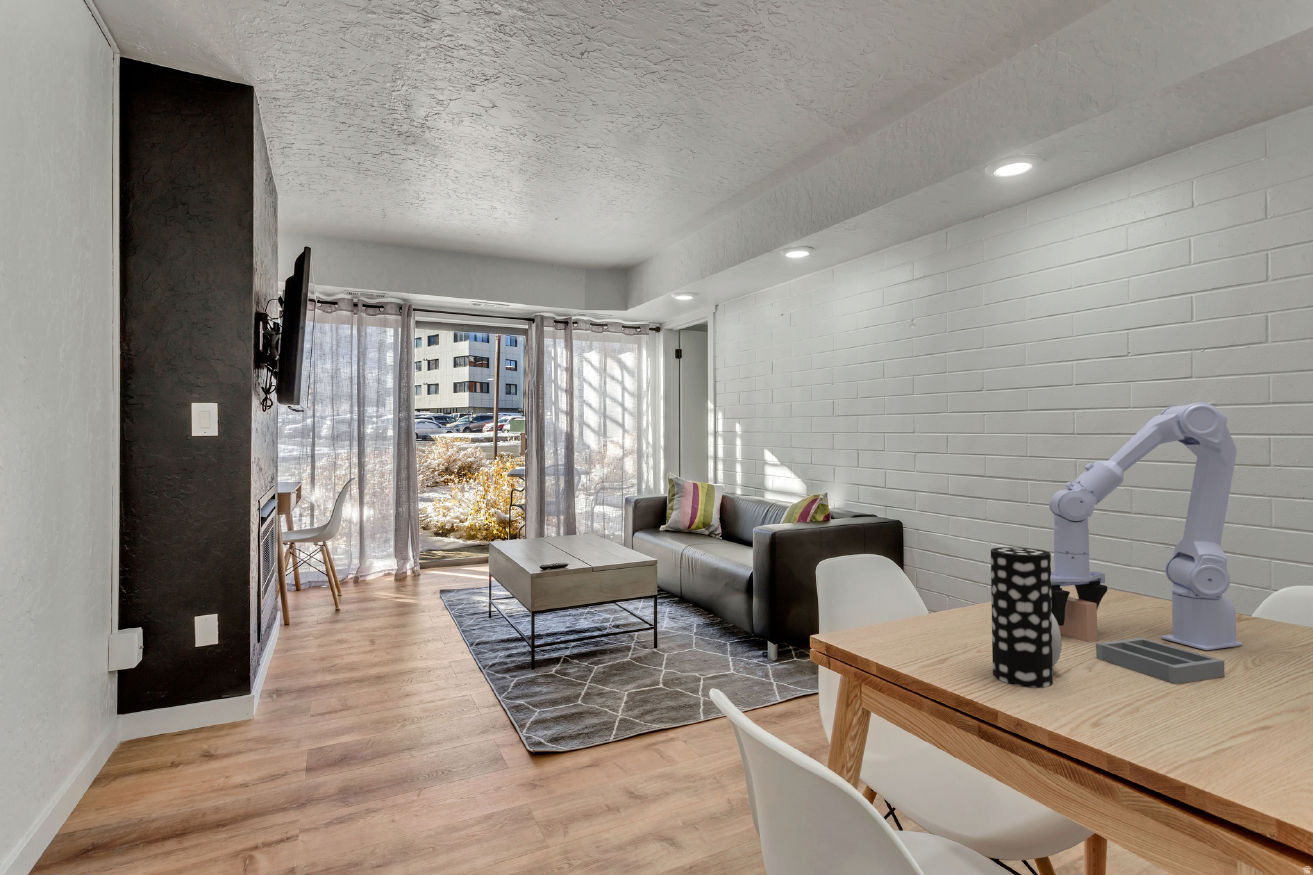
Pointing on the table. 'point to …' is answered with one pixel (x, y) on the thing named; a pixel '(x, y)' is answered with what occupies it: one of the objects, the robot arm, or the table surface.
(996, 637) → the spotted tube
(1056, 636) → the donut
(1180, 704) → the table surface
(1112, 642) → the dish rack
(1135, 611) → the table surface
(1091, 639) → the brick block
